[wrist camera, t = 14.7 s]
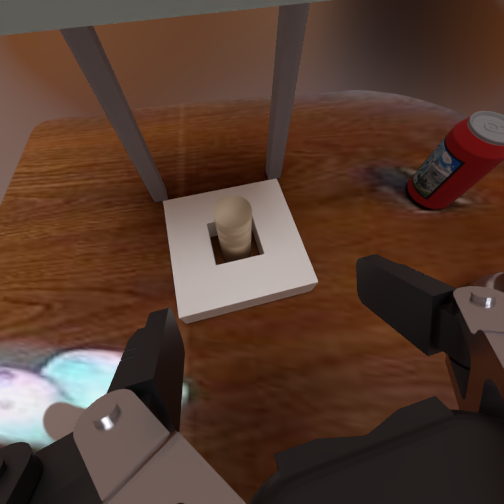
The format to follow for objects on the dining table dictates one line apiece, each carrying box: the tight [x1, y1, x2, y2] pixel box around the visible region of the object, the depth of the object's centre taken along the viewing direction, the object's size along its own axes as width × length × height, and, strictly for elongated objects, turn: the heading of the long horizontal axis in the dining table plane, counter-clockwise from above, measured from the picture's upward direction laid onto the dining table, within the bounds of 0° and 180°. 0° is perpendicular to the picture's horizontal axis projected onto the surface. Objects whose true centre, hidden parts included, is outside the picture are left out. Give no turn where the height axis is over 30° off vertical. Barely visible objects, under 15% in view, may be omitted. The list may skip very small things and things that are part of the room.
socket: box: [163, 179, 318, 324], centre depth 32 cm, size 16×16×4 cm
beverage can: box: [408, 111, 504, 209], centre depth 33 cm, size 7×7×12 cm
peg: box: [213, 195, 252, 262], centre depth 30 cm, size 4×4×10 cm
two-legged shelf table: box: [0, 0, 328, 202], centre depth 25 cm, size 14×20×26 cm
